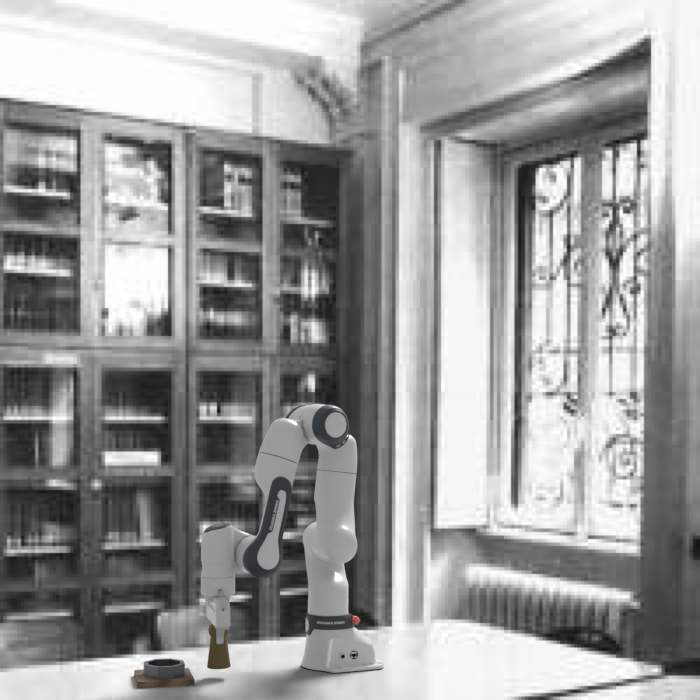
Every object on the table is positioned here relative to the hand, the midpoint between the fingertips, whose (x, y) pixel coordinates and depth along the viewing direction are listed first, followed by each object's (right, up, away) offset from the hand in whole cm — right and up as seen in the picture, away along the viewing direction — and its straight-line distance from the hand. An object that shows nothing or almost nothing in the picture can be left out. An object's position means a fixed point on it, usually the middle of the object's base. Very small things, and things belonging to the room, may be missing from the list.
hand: (218, 641), depth 282 cm
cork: (0, -7, 0) cm, 7 cm away
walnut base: (-13, -9, -4) cm, 17 cm away
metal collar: (-13, -7, -4) cm, 16 cm away
